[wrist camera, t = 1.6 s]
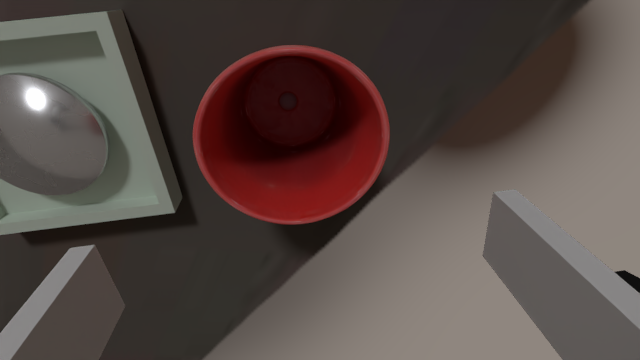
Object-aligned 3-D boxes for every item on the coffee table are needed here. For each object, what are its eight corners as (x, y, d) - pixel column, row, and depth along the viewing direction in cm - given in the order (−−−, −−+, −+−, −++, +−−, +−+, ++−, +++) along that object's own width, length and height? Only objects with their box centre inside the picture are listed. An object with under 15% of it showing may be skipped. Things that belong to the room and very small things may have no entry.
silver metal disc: (-60, 80, 23) (-70, 83, 23) (80, 65, 24) (74, 67, 23) (10, 196, 28) (3, 202, 27) (127, 182, 28) (123, 187, 27)
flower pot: (220, 16, 25) (189, 29, 16) (370, 39, 27) (412, 62, 18) (217, 154, 30) (192, 219, 21) (344, 166, 31) (368, 231, 23)
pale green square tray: (-108, 33, 23) (-148, 37, 21) (122, 9, 24) (106, 11, 22) (7, 219, 31) (-14, 236, 28) (182, 197, 31) (175, 212, 29)
